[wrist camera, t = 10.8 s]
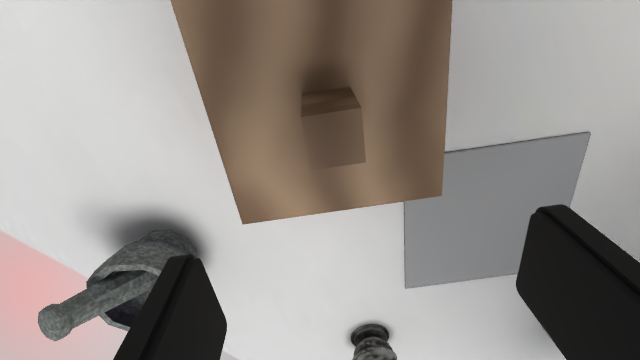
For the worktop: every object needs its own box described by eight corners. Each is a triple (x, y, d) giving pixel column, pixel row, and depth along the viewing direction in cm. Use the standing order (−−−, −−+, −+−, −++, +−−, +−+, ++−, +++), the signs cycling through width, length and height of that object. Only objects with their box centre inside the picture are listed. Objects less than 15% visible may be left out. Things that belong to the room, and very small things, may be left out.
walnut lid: (446, -47, 19) (501, -64, 14) (436, 188, 27) (469, 234, 21) (177, -2, 19) (129, -3, 14) (245, 215, 27) (231, 267, 22)
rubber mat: (588, 131, 31) (591, 133, 31) (549, 267, 40) (551, 269, 40) (403, 158, 32) (404, 159, 32) (405, 286, 41) (405, 288, 40)
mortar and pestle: (227, 243, 36) (196, 343, 26) (191, 293, 40) (152, 399, 29) (125, 196, 32) (41, 289, 22) (96, 255, 36) (12, 360, 26)
